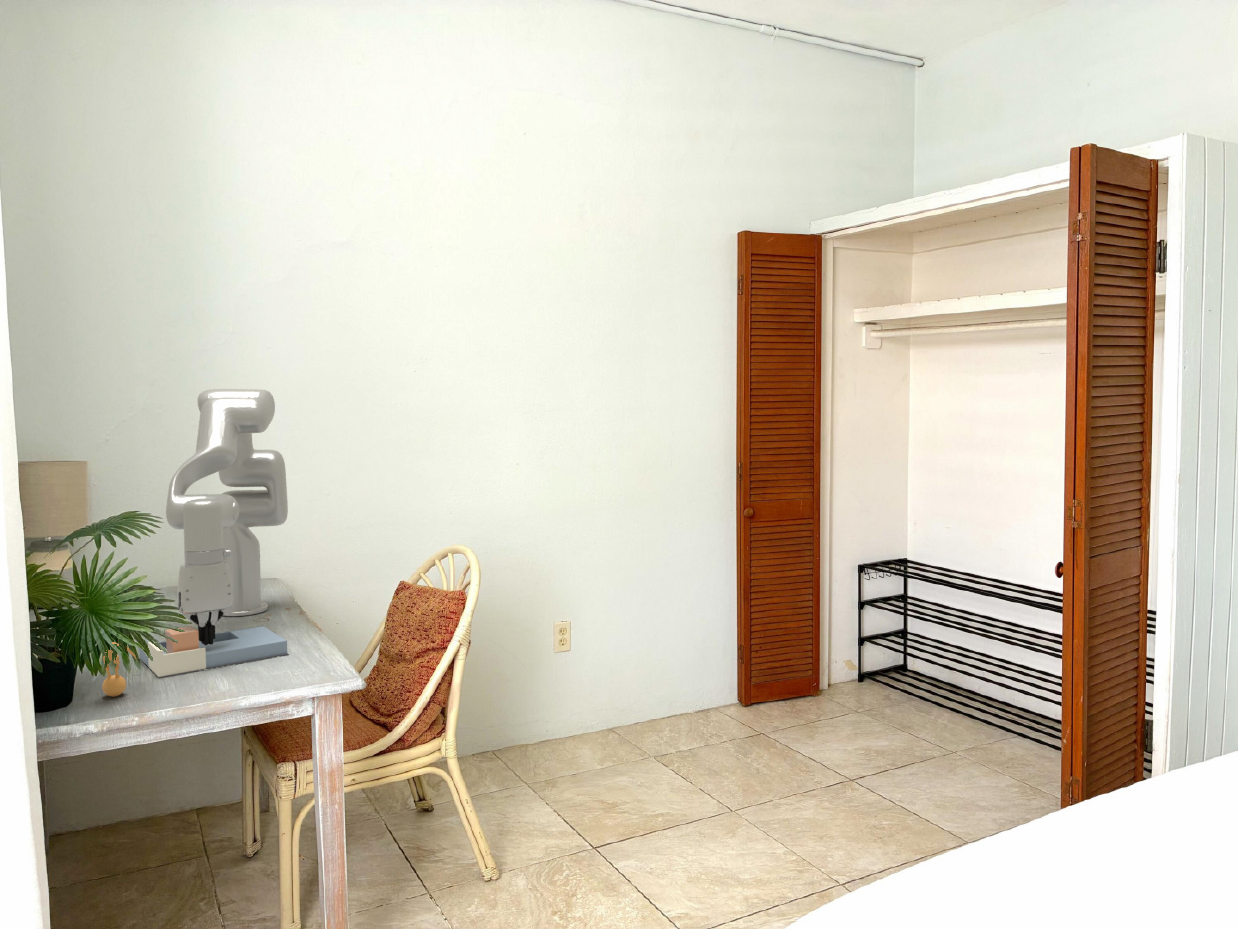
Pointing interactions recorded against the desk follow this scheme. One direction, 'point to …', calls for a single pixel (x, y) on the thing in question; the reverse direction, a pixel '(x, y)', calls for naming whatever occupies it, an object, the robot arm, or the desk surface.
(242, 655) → the slotted holder block
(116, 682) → the figurine
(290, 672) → the desk surface
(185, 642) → the cube
